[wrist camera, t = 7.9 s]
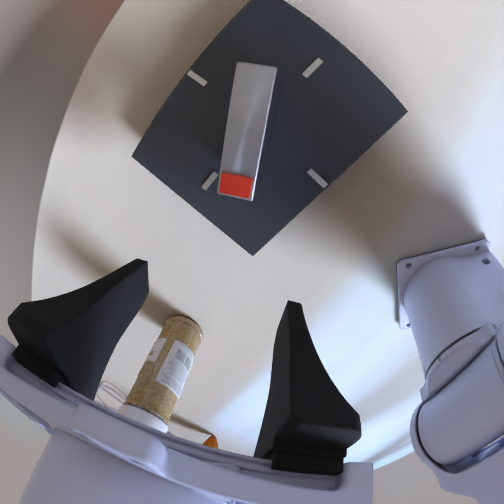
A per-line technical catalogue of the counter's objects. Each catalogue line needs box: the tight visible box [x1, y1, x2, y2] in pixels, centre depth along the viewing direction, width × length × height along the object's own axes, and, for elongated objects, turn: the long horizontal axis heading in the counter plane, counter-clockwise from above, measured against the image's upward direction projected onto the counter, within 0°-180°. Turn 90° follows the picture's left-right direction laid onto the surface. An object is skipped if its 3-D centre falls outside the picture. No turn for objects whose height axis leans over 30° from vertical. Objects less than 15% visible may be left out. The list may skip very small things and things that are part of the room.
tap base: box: [132, 0, 408, 256], centre depth 16 cm, size 14×11×3 cm
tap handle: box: [217, 62, 283, 201], centre depth 13 cm, size 6×2×4 cm, turn 171°
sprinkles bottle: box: [117, 316, 203, 433], centre depth 24 cm, size 5×5×14 cm
